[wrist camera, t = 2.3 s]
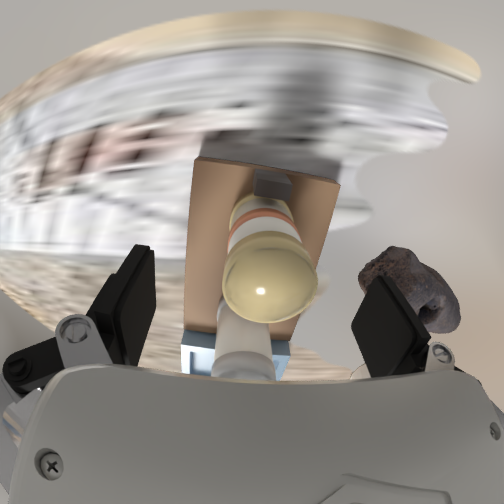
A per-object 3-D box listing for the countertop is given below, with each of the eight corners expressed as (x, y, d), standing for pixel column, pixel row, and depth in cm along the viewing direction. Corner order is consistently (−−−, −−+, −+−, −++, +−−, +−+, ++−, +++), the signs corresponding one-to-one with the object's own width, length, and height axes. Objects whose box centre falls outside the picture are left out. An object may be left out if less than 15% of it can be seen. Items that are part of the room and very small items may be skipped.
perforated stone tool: (453, 286, 25) (484, 323, 19) (424, 318, 27) (450, 359, 21) (379, 219, 21) (422, 261, 15) (342, 266, 23) (371, 319, 17)
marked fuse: (296, 196, 18) (329, 252, 11) (283, 250, 20) (303, 326, 13) (235, 185, 18) (228, 238, 11) (226, 242, 20) (217, 317, 13)
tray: (286, 333, 26) (290, 355, 24) (266, 386, 31) (267, 406, 28) (186, 321, 25) (181, 344, 23) (186, 378, 30) (182, 398, 27)
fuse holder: (334, 180, 19) (356, 198, 15) (288, 329, 26) (294, 364, 22) (198, 156, 18) (184, 168, 14) (186, 318, 25) (178, 353, 21)
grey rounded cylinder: (272, 291, 22) (284, 371, 15) (262, 327, 24) (268, 404, 17) (220, 284, 21) (212, 365, 14) (216, 322, 23) (208, 399, 16)
